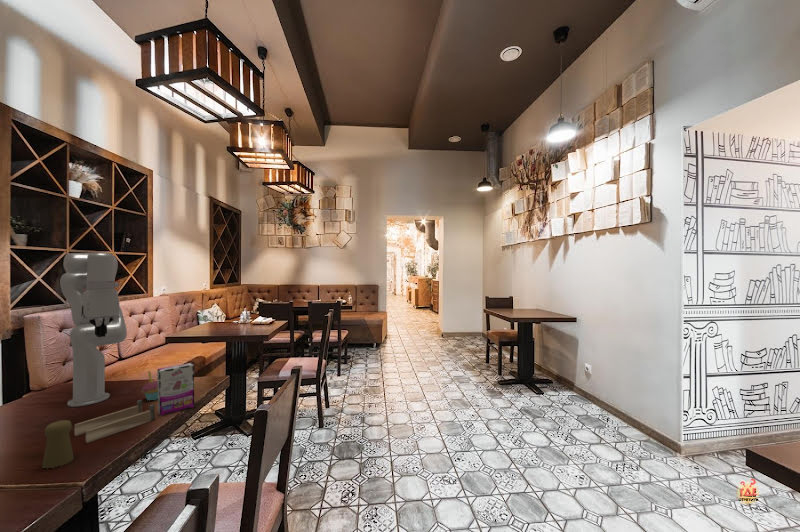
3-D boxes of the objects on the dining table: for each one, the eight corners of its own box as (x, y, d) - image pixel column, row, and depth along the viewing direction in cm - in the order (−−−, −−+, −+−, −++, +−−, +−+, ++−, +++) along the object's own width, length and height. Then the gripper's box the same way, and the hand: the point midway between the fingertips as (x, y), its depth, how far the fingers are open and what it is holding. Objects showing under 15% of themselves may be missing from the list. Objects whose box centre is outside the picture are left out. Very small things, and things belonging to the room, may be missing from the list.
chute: (74, 435, 105) (74, 419, 105) (140, 413, 121) (140, 399, 121) (87, 443, 100) (87, 426, 100) (154, 419, 116) (154, 404, 116)
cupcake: (146, 404, 130) (146, 373, 130) (137, 400, 134) (137, 370, 135) (171, 397, 137) (170, 368, 137) (161, 393, 142) (161, 365, 142)
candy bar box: (191, 403, 130) (191, 362, 130) (194, 407, 126) (194, 364, 126) (156, 412, 122) (156, 368, 122) (159, 416, 118) (159, 370, 119)
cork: (56, 457, 92) (57, 418, 93) (79, 455, 93) (80, 416, 93) (34, 470, 86) (35, 428, 87) (59, 468, 87) (59, 426, 87)
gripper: (121, 285, 128) (121, 332, 128) (69, 287, 116) (69, 339, 115) (130, 285, 125) (130, 333, 124) (77, 287, 112) (77, 341, 111)
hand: (100, 336), depth 120 cm, fingers closed
